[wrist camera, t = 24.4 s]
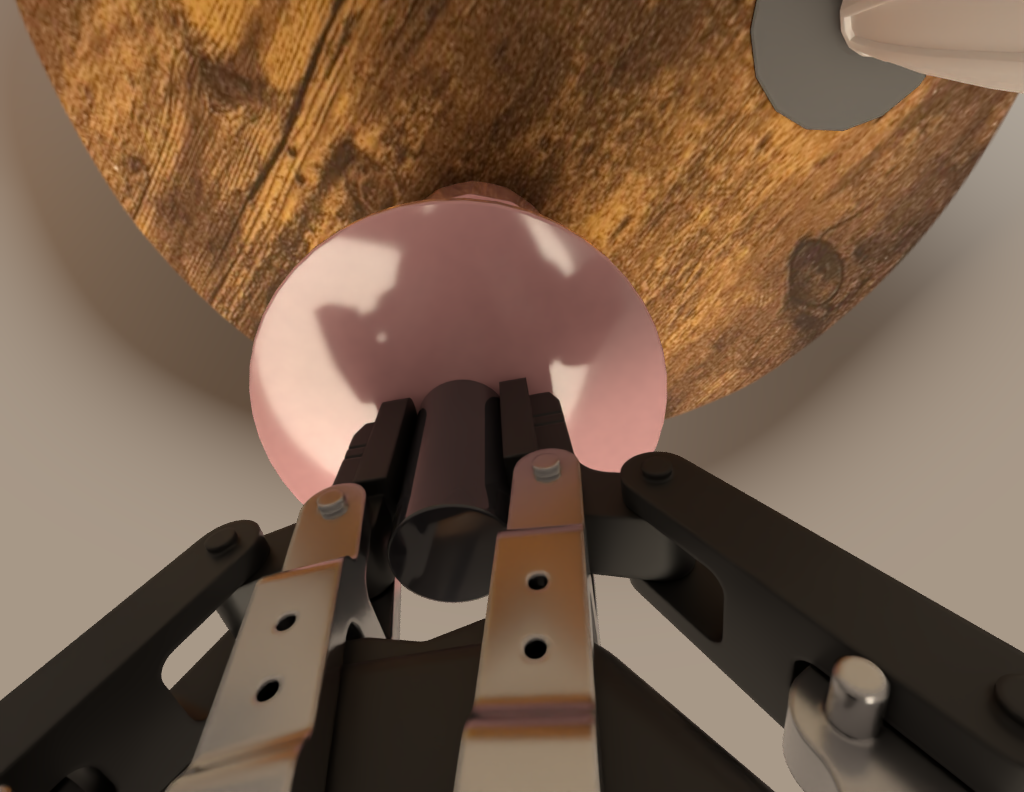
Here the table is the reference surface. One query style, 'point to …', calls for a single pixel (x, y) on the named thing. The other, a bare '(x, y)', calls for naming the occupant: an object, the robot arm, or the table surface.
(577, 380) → the lid
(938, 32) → the cup
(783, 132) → the table surface
